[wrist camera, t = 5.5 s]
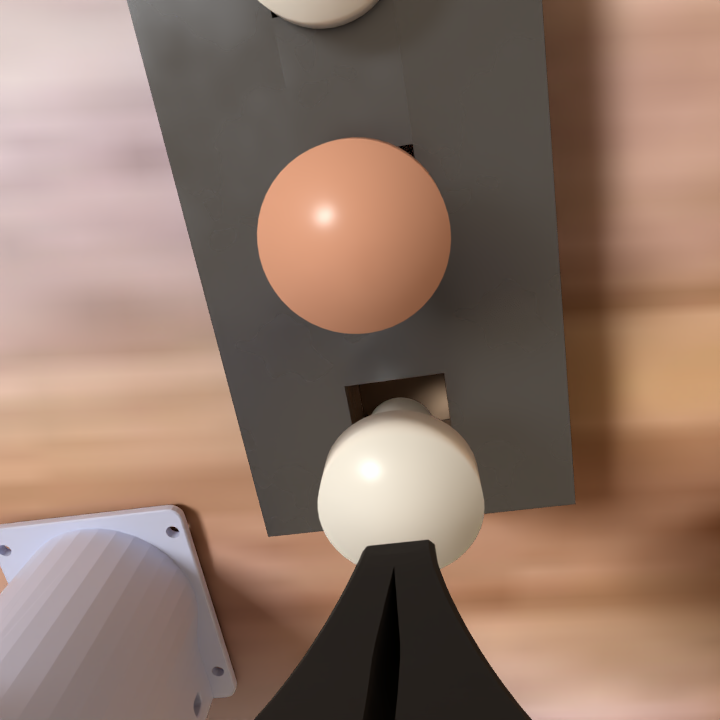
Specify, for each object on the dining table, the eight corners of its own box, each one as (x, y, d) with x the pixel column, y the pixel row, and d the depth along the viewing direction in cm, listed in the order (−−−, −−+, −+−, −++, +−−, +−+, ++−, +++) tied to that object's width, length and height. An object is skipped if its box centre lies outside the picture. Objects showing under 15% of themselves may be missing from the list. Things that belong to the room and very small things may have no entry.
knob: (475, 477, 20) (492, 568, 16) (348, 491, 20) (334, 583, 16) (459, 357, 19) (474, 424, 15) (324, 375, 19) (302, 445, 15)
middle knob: (449, 273, 18) (461, 320, 14) (307, 294, 18) (279, 345, 14) (429, 119, 16) (437, 121, 12) (276, 148, 17) (236, 158, 13)
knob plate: (555, 456, 23) (575, 503, 20) (284, 488, 24) (268, 537, 21) (501, -237, 16) (520, -309, 13) (128, -145, 17) (75, -194, 15)
